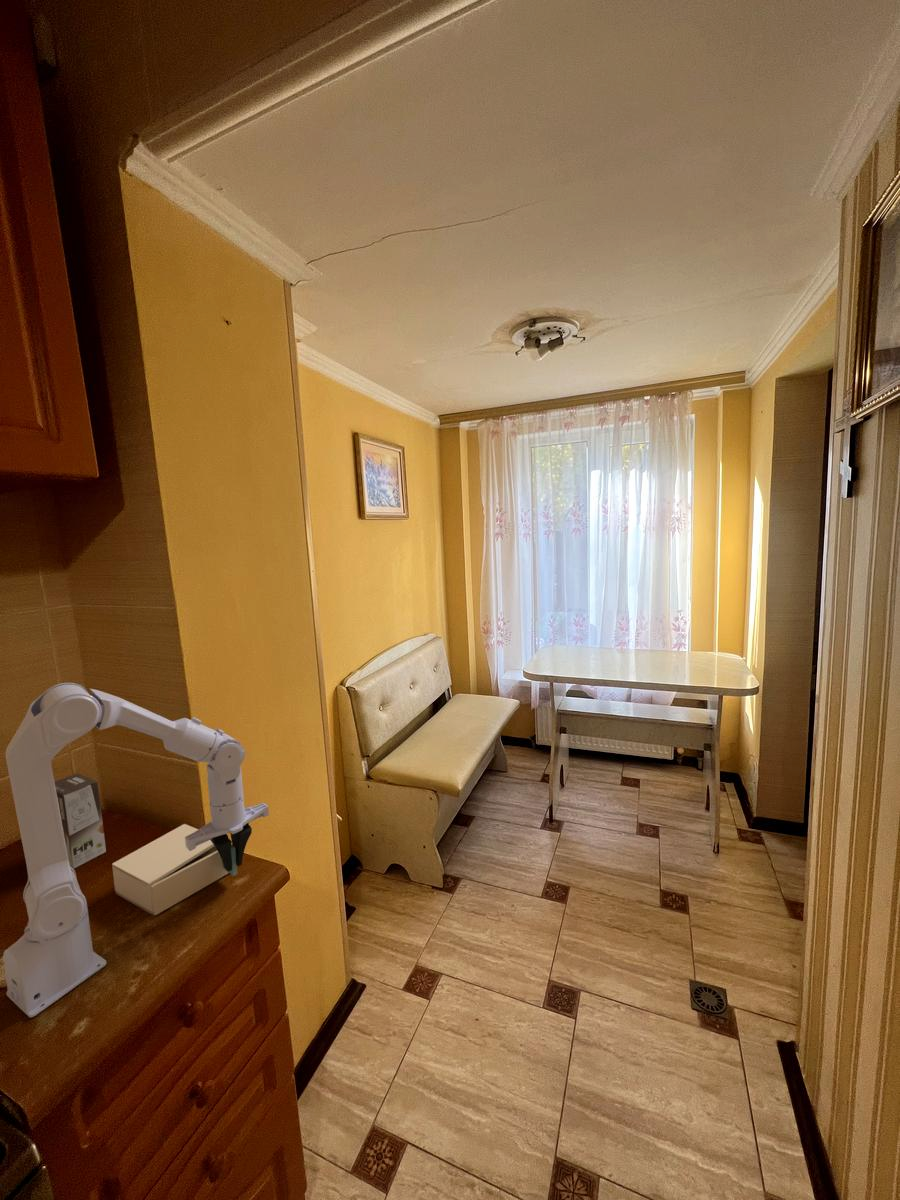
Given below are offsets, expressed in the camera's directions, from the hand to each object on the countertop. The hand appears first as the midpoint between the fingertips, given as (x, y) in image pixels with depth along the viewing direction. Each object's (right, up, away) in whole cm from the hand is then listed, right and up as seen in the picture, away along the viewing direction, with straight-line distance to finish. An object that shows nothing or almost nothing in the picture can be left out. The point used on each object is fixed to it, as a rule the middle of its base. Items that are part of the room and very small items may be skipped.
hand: (232, 866), depth 88 cm
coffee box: (-38, -4, +11) cm, 40 cm away
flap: (-5, -4, -2) cm, 7 cm away
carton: (-13, -4, +3) cm, 14 cm away
